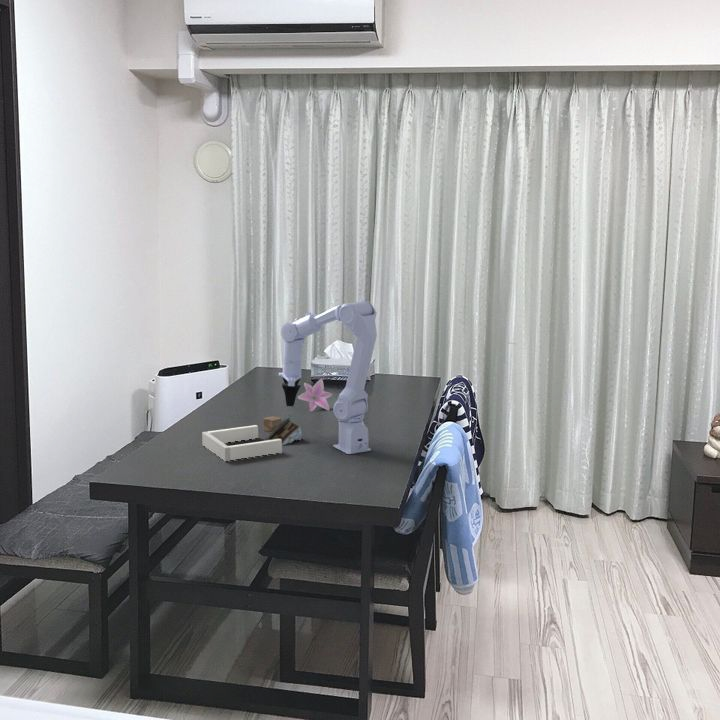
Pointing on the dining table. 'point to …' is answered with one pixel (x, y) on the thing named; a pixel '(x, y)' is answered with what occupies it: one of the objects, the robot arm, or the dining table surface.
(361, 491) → the dining table surface
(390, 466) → the dining table surface
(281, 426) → the chocolate cake
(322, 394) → the lily
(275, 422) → the walnut block
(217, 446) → the socket bay
